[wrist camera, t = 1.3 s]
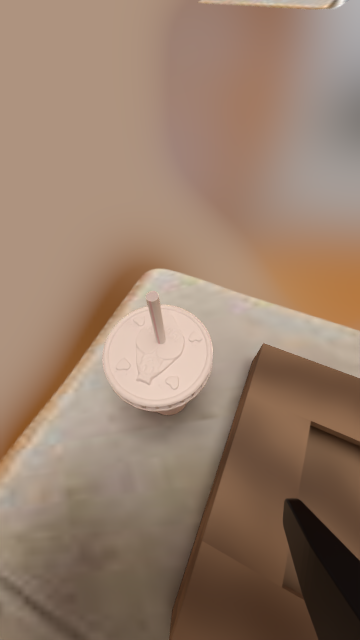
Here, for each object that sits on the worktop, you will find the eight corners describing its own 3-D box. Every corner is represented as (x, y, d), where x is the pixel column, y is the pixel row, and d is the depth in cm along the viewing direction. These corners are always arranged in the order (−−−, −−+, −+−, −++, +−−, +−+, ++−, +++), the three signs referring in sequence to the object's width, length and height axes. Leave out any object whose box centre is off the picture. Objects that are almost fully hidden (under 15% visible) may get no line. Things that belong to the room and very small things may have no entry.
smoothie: (212, 372, 23) (239, 269, 11) (191, 444, 20) (197, 407, 8) (149, 352, 25) (113, 239, 13) (120, 417, 22) (36, 350, 10)
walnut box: (529, 852, 11) (677, 1018, 8) (172, 611, 16) (167, 651, 12) (476, 448, 20) (537, 443, 16) (252, 361, 24) (263, 343, 20)
